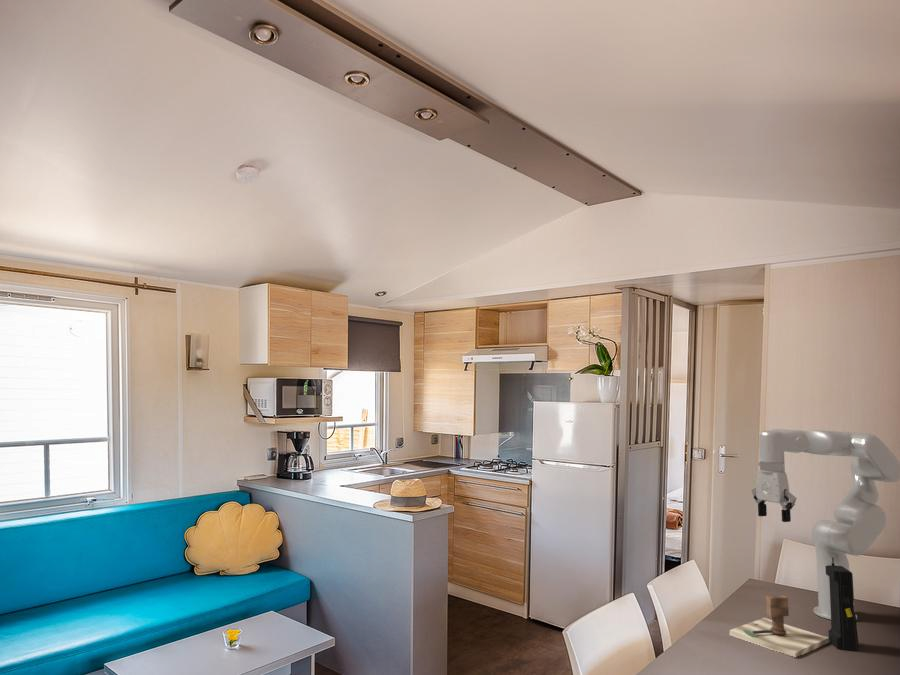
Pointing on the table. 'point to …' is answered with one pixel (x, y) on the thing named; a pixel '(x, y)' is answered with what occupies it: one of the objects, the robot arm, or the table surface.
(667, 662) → the table surface
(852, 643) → the portable radio
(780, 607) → the tuning peg
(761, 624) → the dial board
